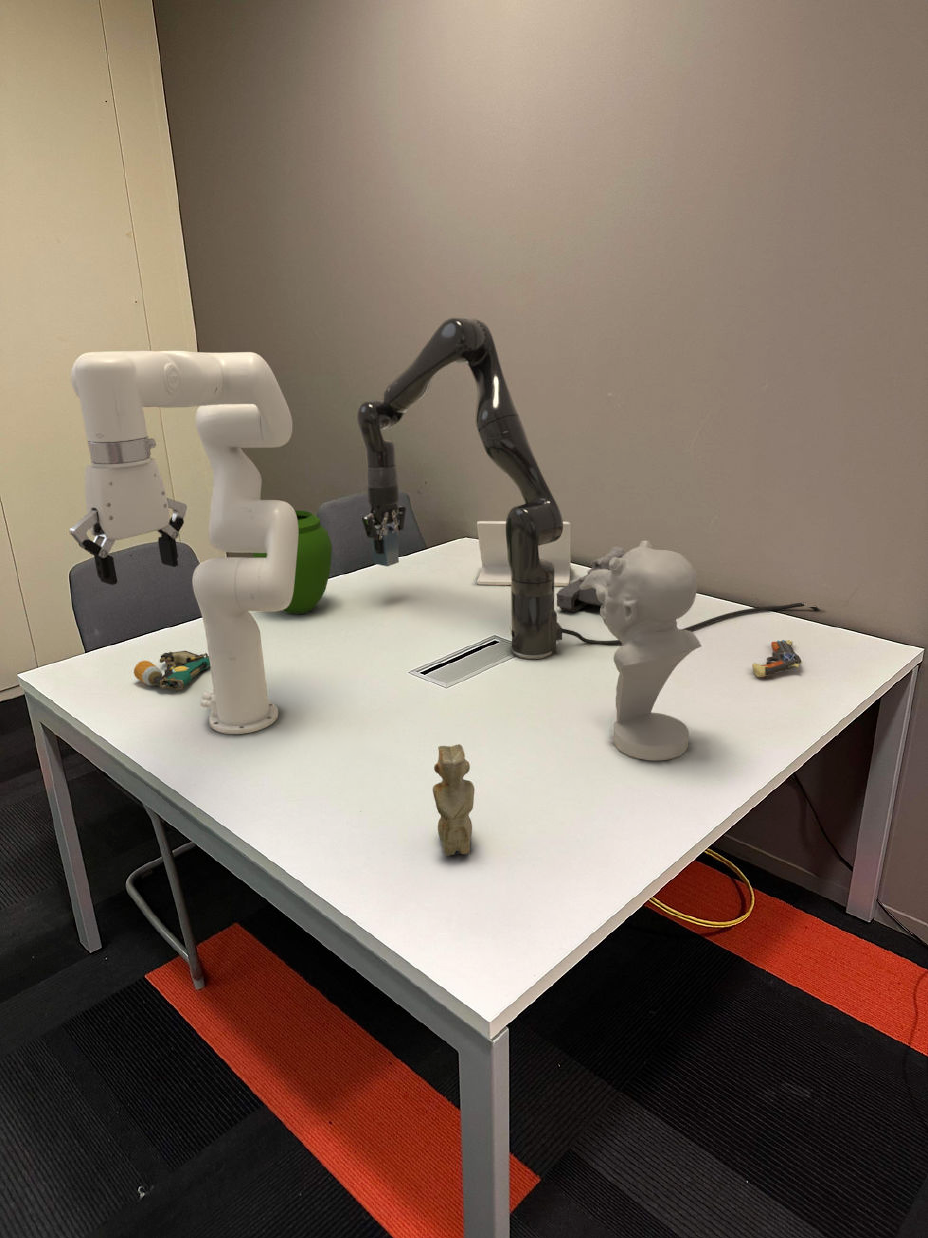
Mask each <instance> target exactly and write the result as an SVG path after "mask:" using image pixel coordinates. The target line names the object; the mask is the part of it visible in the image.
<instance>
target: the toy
mask: <svg viewBox="0 0 928 1238" xmlns="http://www.w3.org/2000/svg"><path fill="white" fill-rule="evenodd" d="M625 554H626V551H625V549H624V548H622V547H621V546H614V547H612V548H611V549H610V550H609V552H608V553H607V554H605V555H604V556H601V557H599V558H598V559H597V557H596V558H594V559H593V560H592V561H590V562H589V563H590V564H591V565H592V567H591V568H590V569H589V570H587V573H586V575H584V576H582V577H580V578H578V579H577V580H575V581H573V582H570V583H569V585H567V586H563V587H562V588H560V589H559V590H558V591H557V592H556V607H558V608H559V609H560V610H562V611H566V612H572V613H575V612H577V611H579V610H581V609H582V608H585V607H586V606H588V605H592V606H598V607H601V606H602V605H603V603H601V602H600V601H599V600H598V598H597V595H596V589H594V588H590V589H585V590H580V588H579V587H580V585H581V584H582V583H583V581H584V580H585V579H586V577H587V576H588V575H589V574H590V573H591V572H593V571H595V570H600V569H606V570H610V569H609V562H610V560H611V559H612V558H614V557H617V558H622V557H623V556H624V555H625Z"/></svg>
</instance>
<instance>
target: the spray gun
mask: <svg viewBox="0 0 928 1238" xmlns="http://www.w3.org/2000/svg"><path fill="white" fill-rule="evenodd" d="M158 662H159V663H161V664H163V663H165V664H166V668H165V670H163V672H164V674H163V673H162V669H160V668H159V666H157V665H156V664H154V663H152V662H151V661H149V660H141V661H139V662H138V663H136V665H135V666H134V668H133V675H134V677H135V678H136V679H137V680H139V681H140V682H142V683H143V684H145V685H147V686H155V685H157V686H158V687H160V688H161V689H171V690H172V689H173V690H182V689H184V687H185V686H186V685H188V684H189V683H190V682H191V681H192V679H193V678H195V677H196V676H197V675H198V674H200V673H201V672H202V671H203V670H206V669H208V668H209V667H210V660H209V653H207V652H205V653H201V654H197V653H194V652H192V651H191V652H190V651H188V650H180V651H169V652H164V653H162V654H161V655H160V658H159V660H158ZM178 663H179V664H181V665H179V666H176V665H177V664H178Z"/></svg>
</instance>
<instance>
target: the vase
mask: <svg viewBox="0 0 928 1238" xmlns="http://www.w3.org/2000/svg"><path fill="white" fill-rule="evenodd" d="M295 513H296V516H297V520H298V530H299V533H298V548H297V560H296V571H295V582H294V591H293V596H292V600H291V602H290V604H289V606H288V607H287V608H285V609H284V610H281V611H282V612H284V613H287V614H290V615H291V614H292V615H299V614H306V613H308V612H311V611H312V610H314V609H315V608H316V607H317V606H318V605H319V603H320V601H321V600H322V598H323V596H324V593H325V592H326V589H327V585H328V581H329V578H330V574H331V568H332V554H333V544H332V541H331V538H330V535H329V532H328V531H327V530H326V528H325V527H323V526H322V525H321V518H320V517H318V516H316V515H314V514H313V513H312V512H310V511H307V510H295ZM252 556H253V558H266V557H267V553H252Z"/></svg>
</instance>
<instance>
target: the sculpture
mask: <svg viewBox="0 0 928 1238" xmlns="http://www.w3.org/2000/svg"><path fill="white" fill-rule="evenodd" d="M437 751H438V758H437V762H436V763H435V764H434V767H433V770H434V772H435V773H436V774H437V775H438V776H439V777H441V779H442V781H441V782H437V783H435V784H434V785H433V786H432V794H433V798H434V803H435V808H436V810H437V812H438V814H439V815H440V818H439V819H438V821H437V833H438V837H439V839H440V840H439V841H440V842H441V844H442V848H443V853H444V855H445V856H455V854H456V851H459V853H460V855H468V854H470V852H471V851H470V850H471V838H472V836H473V822H472V820H471V818H470V813H471V812H472V811H473V808H474V800H475V798H474V797H475V786H474V783H473V782H472V781H471V780H468V779H464V777H465V775H467V774H468V773H469V771H470V770H471V765H470V761H468V760H467V759H466V754H465V750H464V748H463V745H462V744H460V743H459V744H454V745H451V746H450V745H449V746H448V745H440V746H438V747H437Z"/></svg>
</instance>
